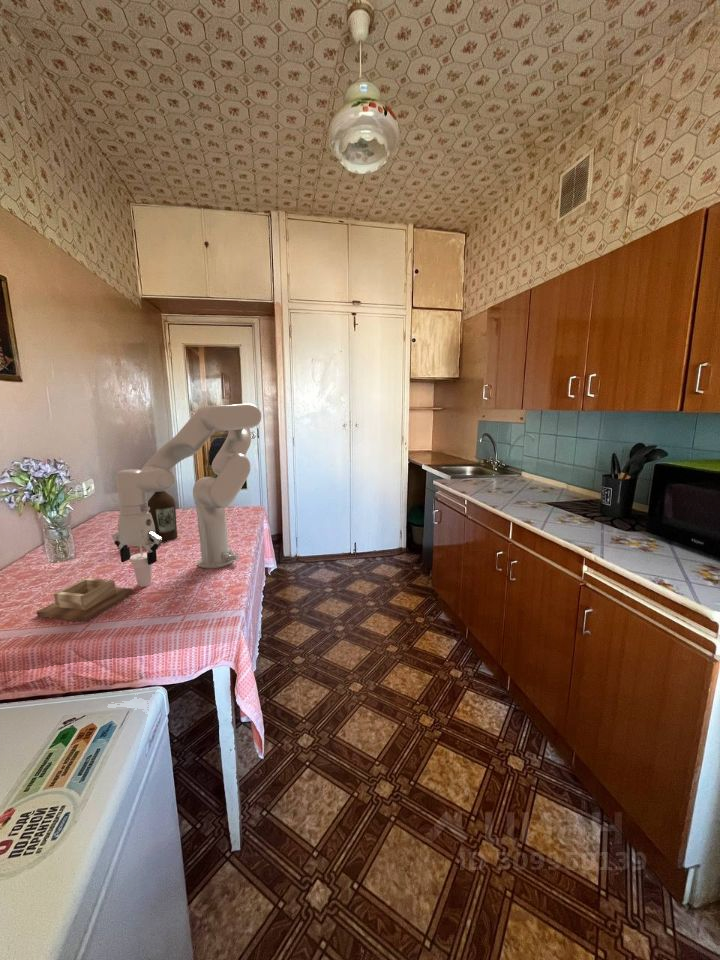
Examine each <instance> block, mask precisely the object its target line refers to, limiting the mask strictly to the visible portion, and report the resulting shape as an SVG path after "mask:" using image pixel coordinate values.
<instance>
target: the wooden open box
mask: <svg viewBox="0 0 720 960" xmlns="http://www.w3.org/2000/svg"><path fill="white" fill-rule="evenodd" d="M115 582H116V581H115V580H114V579H101V578H93V577H92V578H91V577H90V578H89V577H85V578H82V579H81V580H79V581H77V582H74V583H73V584H71V585H69V586H67V587H64V588H63V589H61V590H59V591H56V592H54V593H53V596H54V597H53V598H54V602H52V603H51V604H48V605H47V606H45V607H43V608H41V609H39V610H36V614H37V615H36V616H37V617H38V616H43V617H42V618H46V617H49V618H48V619H54V618H56V620H63V619H64V620H66V621H72V620H75V621H74V622H81V621H84V622H83V623H87V622H89V621H91V620H92V619H94V618H95V617H97V616H100V615H101V614H102V613H104V612H105V611H107V610H108V609H110V608H112V607H113V606H115V605H117V604H119V603H120V602H122V601H123V600H125V599H127V598H128V597H129V595H130V596H131V595H133V594H134V591H133V590H134V589H133V588H126V587H116V584H115ZM132 593H133V594H132ZM124 598H125V599H124ZM121 600H122V601H121ZM90 619H91V620H90ZM88 620H89V621H88Z"/></svg>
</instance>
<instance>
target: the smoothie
mask: <svg viewBox="0 0 720 960" xmlns="http://www.w3.org/2000/svg"><path fill="white" fill-rule="evenodd" d="M139 552H140V553H136V554H133V555H132V556H131V555H130V559H129V562H130V563H131V565H132V570H133V572H134V577H135V579H136V582H137V586H138V587H139V586H140V587H139V588H144V586H145V587H148V586H151V584H152V578H153V577H152V570H153V569H152V567H153V564H151V565H148V560H147V553H148V551H147V552H146V551H145V552H143V546H139Z"/></svg>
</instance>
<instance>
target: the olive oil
mask: <svg viewBox="0 0 720 960" xmlns="http://www.w3.org/2000/svg"><path fill="white" fill-rule="evenodd" d="M147 504H148V507H150V510H149V511H148V512H149V513H151V515H152V518H153V522H154V527H155V532H156V535H158V536H160V537H161V538H162V542H161V543H164V541H166V542H170V540H171V541H172V540H173V539H174V540H175V538H176V539H177V538H178V528H177V527H178V524H177V512H176V501H175V499H174V497H173V496H172V495H170V494H169V493H168V492H167V491H161V492H154V493H153V494H152V496H151V497H150V498H149V499H148V500H147Z"/></svg>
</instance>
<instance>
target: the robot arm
mask: <svg viewBox="0 0 720 960" xmlns="http://www.w3.org/2000/svg"><path fill="white" fill-rule="evenodd" d="M261 420H262V413H261V410H260V408H259V407H258V406H257V405H256V404H255V405H254V404H252V403H234V404H228V405H227V404H223V405H221V404H219V405H218V404H215V405H214V404H213V405H204V406H202V407H200V408H198V409H197V410H196V411H195V413H194V414H193V415H192V416H191V417H190V419H188V420H187V422H186V423H185V424H184V425H183V427H182V428H181V429H180V430H179V432H178V433H176V434H175V435H174V437H172V438H171V439H170V440H169V441H168V442H167V443H165V444H164V445H163V446H161V447H160V448H159V449H158V450H157V451H155V453H154V454H153V455H152V456H151V457H150V458H149V460H148V461H147V462H146V463H145V464H144V465H143V466H142V468H141V469H137V468H136V469H135V468H134V469H133V468H131V469H122V470H119V471H117V473H116V475H115V477H116V480H115V481H116V487H117V489H116V490H117V495H118V497H117V499H118V506H119V508H118V509H119V514H118V521H117V523H118V524H117V529H118V530H117V532H116V533H113V534H112V535H111V539H112V540H113V541H114V544H115V545H116V547H117V550H118V551H119V553H120V555H119V556H120V562H121V563H125V562H127V561H130V557H131V550H130V546H133V547H134V546H135V547H140V546H142V547H144V548H145V549H146V551H147V552H148V553H147V560H148V565H151V564H152V565H153V564H154V563H156V562H157V561H158V558H157V556H158V555H157V550H158V549H159V547H160V546H161V544H162V543H163V542H162V538H161V537H160V536H158V535H156V532H155V527H154V522H153V518H152V515H151V513H149V512H148V511H149V510H150V507H148V496H147V493H148V492H152V493H153V492H154V493H155V492H161V491H165V492H167V491H169V490H171V488H172V487H174V485H175V482H176V478H175V475H174V473H173V472H172V471H171V470H172V469H173V468H174V467H175V466H176V465H177V464H179V463H180V462H181V461H183V460H185V459H187V458H190V457H192V456H193V455H195V454H198V452H200V450H201V448H203V447H204V445H205V444H206V442H207V441H208V440H209V439H210V438H211V436H212V435H213V434H214V433H215V432H227V431H228V434H227V437H226V439H225V440H224V442H223V444H222V446H221V447H220V449H219V450H218V452H217V453H216V455H215V457H214V458H213V460H212V463H211V469H212V472H213V473H214V474H215V475H217V476H216V477H214V476H204V477H200V478H199V479H198V480H196V481H195V483H194V485H193V488H192V498H193V500H194V505H195V509H196V515H197V525H198V534H199V545H200V554H201V558H199V559H198V560H197V566H198V567H199V568H201V569H209V570H211V569H212V570H213V569H219V568H220V569H221V568H223V567H226V566H229V565H231V564H232V563H234V561H238V560H239V552H233V549H232V548H231V547H230V546H229V535H228V523H227V520H228V519H227V512H226V508H227V507H228V506H230V505H231V504H232V503H233V502H234V501H235V499H236V498H237V496H238V495H239V493H240V491H241V489H242V488H243V486H244V484H245V483H246V481H247V479H248V477H249V475H250V473H251V462H250V460H249V458H248V456H246V454H247V453H248V450H249V448H250V446H251V443H252V433H251V429H253V428H255V427H258V425H259V424H260V423H261Z"/></svg>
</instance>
